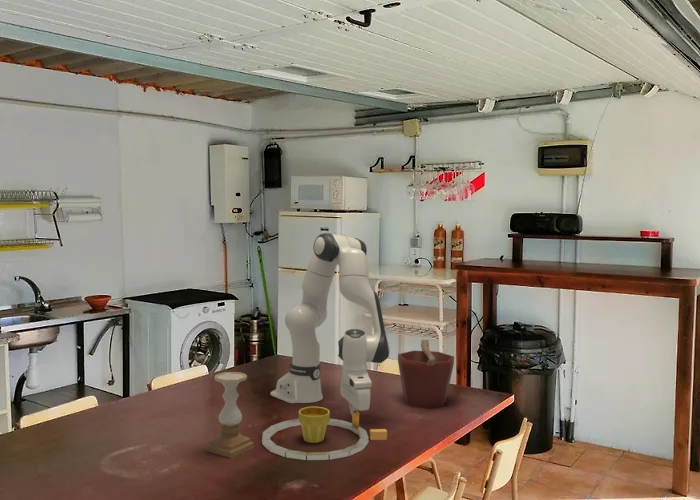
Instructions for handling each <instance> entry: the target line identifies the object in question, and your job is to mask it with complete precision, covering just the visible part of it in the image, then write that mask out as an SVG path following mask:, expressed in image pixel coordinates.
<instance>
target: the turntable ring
mask: <svg viewBox="0 0 700 500" xmlns="http://www.w3.org/2000/svg"><path fill="white" fill-rule="evenodd" d="M351 416H352V418H351V420H352V421H351V422H349V421H346V420H343V419H342V420H341V419H336V418H330V420H329V422H328V423H327V426H332V427H333V426H334V427H340V428H342V429H346V430H349V431H351V432H353V433H354V434H356V435H357V436H358V437H359V439H358V441H357V442H356V443H355V444H353V445H350V446H347V447H345V448H343V449H337V450H331V451H320V452H319V451H316V452H315V451H314V452H312V451H309V452H306V451H300V450H291V449H288V448H285V447H283V446H280V445H277V444H276V443H275V442H274V441H273V440H271V437H273V436H274V435H275V434H276V433H278V432H279V431H282V430H284V429H285V430H286V429H288V428H291V427H298V426H301V423H300V422H299V418H294V419H289V420H285V421H281V422H278V423H275V424H273V425H270V426H269V427H268V428H266V429H265V430H264V431H263V432H262V438H261V445H262V446H263V447H264V448H265V449H266V450H267V451H269V452H270V453H272V454H275V455H278V456H280V457H283V458H287V459H295V460H300V461H330V460H331V461H332V460H337V459H341V458H348V457H350V456H353V455H355V454H357V453H360V452H362V451H363V450H364V449H365V448H366V446H367V445H368V444H369V442H370V441H369V439H370V436H368V432H367V429H364V428H363V427H361V425H360V412H359V411H358V412H357V411H355V412H352V415H351Z"/></svg>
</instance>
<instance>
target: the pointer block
mask: <svg viewBox="0 0 700 500" xmlns="http://www.w3.org/2000/svg"><path fill="white" fill-rule="evenodd" d="M369 439H370V441H387V440H388V431H387V429H386V428H370V429H369Z"/></svg>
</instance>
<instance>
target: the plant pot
mask: <svg viewBox="0 0 700 500" xmlns="http://www.w3.org/2000/svg"><path fill="white" fill-rule="evenodd" d="M330 415H331V412H330V410H329V409H328V408H325V407H321V406H306V407H303V408H300V409H299V410H298V419H299V422H300V423H301V425H300V426H301V431H302V437H303V441H305V442H307V443H308V444H309V443H311V444H314V443H315V444H316V443H321V442H323V441H324V439H325V434H326V430H327V427H328V425H327V423H328V422H329V420H330V419H331V416H330Z"/></svg>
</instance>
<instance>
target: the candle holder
mask: <svg viewBox="0 0 700 500" xmlns="http://www.w3.org/2000/svg"><path fill="white" fill-rule="evenodd" d="M213 378H214V380H215V381H216V382H218V383H220V384H222V386H223V387H224V392H223V394H222V395H221V396H222V398H223V401H224V402H225V403H224V406H223V408H222V409H221V411H220V413H219V415H218V421H219V422H220V424H222V425H221V426H220V431H221V434H219V435H218V436H217V437H215V438H212V439H211V440H209V444H208V443H207V444H206V446H205V451H206V452H208V453H212V454H214V455H219V456H221V457H225V458H229V459H233V458H235V457H237V456H239V455H242V454H244V453H247V452H248V451H250V450H253V449H254V448H255V442H253V441H252V440H251V437H248V436H244V435H242V434H241V433H240V431H241V427H240V425H239V423H241V421H242V418H243V415H242V412H241V410H240V408H239V407H238V404H237V400H238V398H239V397H240V394H239V393H238V391H237V388H238V386H239V384H240V383H241V382H245V381H246V380H247V379H248V375H247V374H246V373H244V372H241V371H240V372H239V371H228V372H227V371H226V372H225V371H224V372H220V373H217V374H215V375H214V377H213Z"/></svg>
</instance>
